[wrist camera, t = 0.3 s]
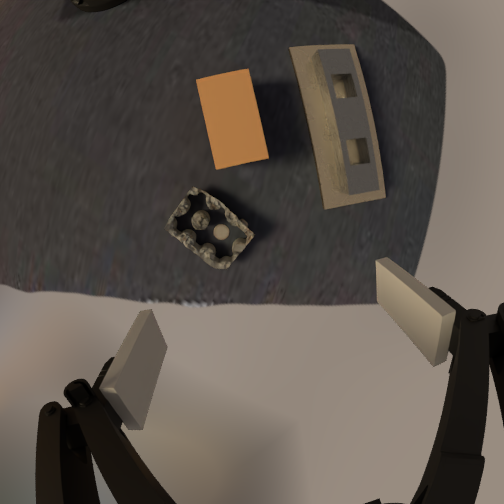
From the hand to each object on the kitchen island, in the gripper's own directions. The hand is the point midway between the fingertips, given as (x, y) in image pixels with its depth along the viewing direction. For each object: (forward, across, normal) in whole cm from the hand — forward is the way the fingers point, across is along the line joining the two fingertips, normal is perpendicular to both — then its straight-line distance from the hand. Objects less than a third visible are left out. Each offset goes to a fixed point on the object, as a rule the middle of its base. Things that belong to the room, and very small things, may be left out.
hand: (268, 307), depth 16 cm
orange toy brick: (+26, +1, +13) cm, 29 cm away
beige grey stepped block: (+26, +16, +11) cm, 32 cm away
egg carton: (+26, -6, 0) cm, 27 cm away
